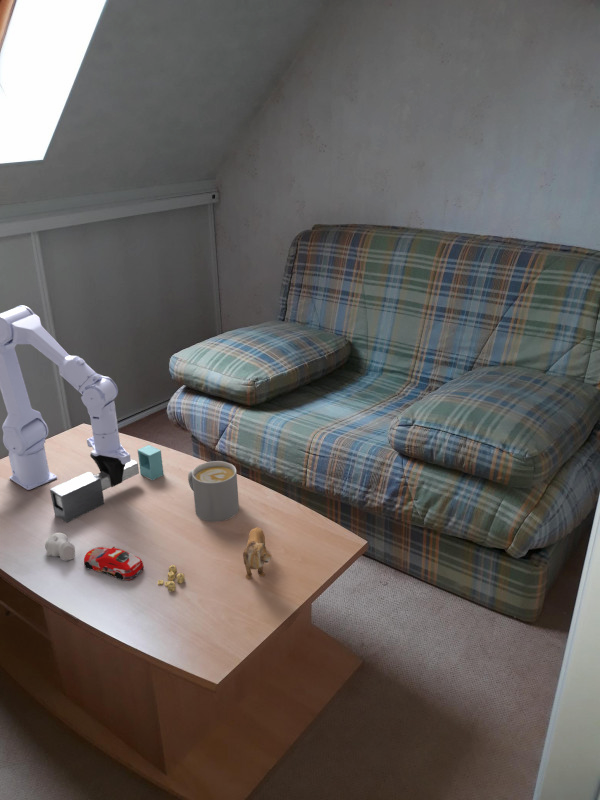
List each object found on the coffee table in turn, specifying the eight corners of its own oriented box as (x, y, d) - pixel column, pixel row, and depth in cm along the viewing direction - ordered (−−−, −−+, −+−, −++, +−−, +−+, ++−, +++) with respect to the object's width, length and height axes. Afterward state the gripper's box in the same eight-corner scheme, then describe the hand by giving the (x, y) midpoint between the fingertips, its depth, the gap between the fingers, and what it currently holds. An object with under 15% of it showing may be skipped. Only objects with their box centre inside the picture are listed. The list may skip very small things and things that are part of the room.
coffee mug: (247, 510, 151) (245, 472, 147) (210, 527, 145) (207, 488, 141) (215, 487, 161) (212, 451, 157) (179, 502, 155) (175, 465, 151)
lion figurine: (273, 587, 126) (272, 549, 123) (246, 591, 126) (243, 552, 122) (265, 542, 140) (264, 506, 136) (240, 545, 139) (238, 509, 135)
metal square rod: (56, 504, 149) (54, 492, 148) (131, 469, 163) (129, 458, 162) (64, 510, 147) (62, 497, 146) (139, 474, 161) (138, 462, 160)
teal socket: (140, 474, 167) (137, 449, 164) (151, 468, 170) (148, 444, 167) (152, 480, 164) (149, 455, 161) (163, 474, 167) (160, 450, 164)
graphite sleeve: (54, 515, 150) (49, 488, 148) (92, 497, 157) (88, 471, 155) (66, 522, 148) (61, 496, 145) (104, 504, 154) (100, 478, 152)
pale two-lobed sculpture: (46, 553, 139) (67, 538, 142) (59, 571, 134) (81, 556, 136) (36, 539, 137) (58, 524, 139) (49, 557, 131) (71, 541, 133)
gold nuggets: (173, 571, 132) (172, 564, 131) (191, 582, 129) (190, 574, 128) (153, 584, 129) (152, 576, 128) (171, 595, 126) (170, 587, 125)
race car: (79, 567, 134) (76, 551, 132) (97, 552, 138) (95, 536, 136) (130, 585, 128) (127, 568, 126) (147, 569, 132) (145, 553, 131)
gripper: (72, 426, 154) (81, 477, 159) (108, 444, 145) (116, 497, 151) (98, 416, 159) (106, 466, 164) (135, 433, 150) (141, 485, 155)
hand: (112, 480), depth 158 cm, fingers closed on metal square rod, 3 cm apart
